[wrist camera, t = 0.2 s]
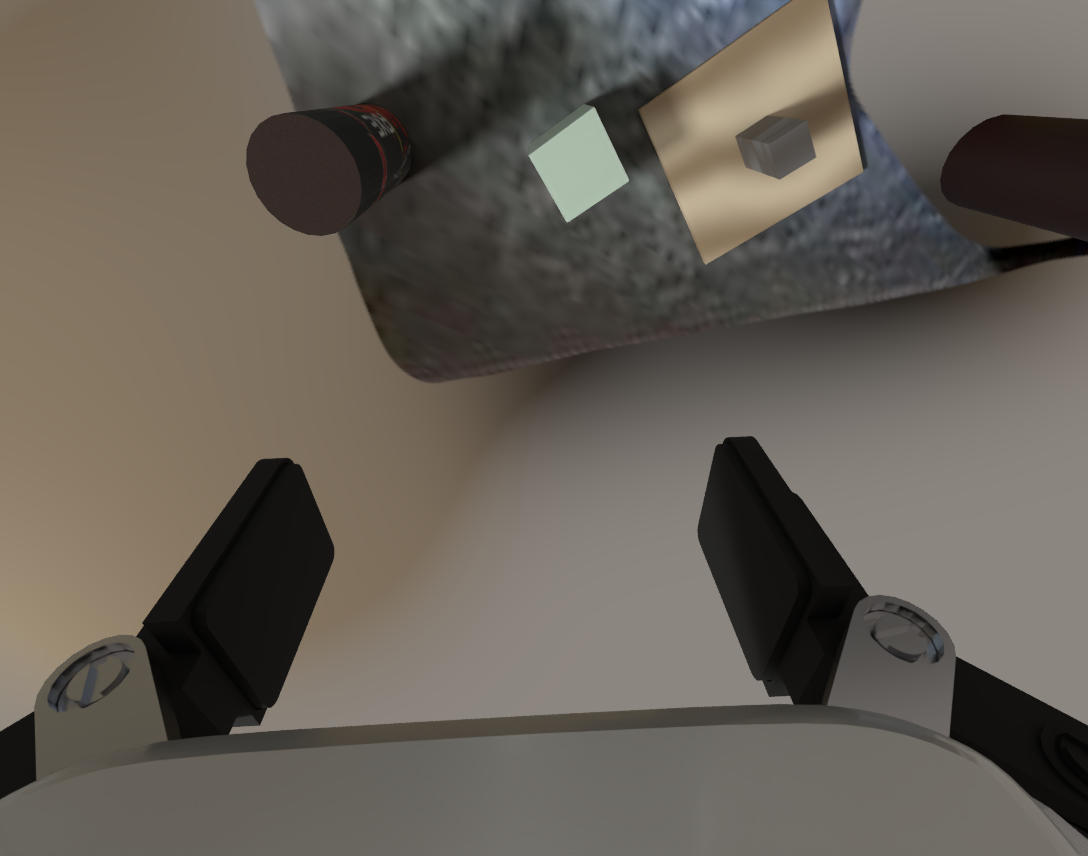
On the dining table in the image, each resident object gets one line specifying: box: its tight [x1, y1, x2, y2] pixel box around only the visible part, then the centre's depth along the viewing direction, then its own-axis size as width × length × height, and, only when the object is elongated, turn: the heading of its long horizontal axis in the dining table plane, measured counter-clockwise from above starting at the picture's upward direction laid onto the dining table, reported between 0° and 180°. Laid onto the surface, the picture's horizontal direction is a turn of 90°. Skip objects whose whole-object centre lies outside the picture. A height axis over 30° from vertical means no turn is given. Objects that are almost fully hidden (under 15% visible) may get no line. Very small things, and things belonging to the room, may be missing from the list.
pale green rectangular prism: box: [527, 104, 629, 222], centre depth 36 cm, size 5×5×7 cm
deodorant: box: [246, 104, 412, 236], centre depth 32 cm, size 6×6×15 cm
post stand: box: [638, 0, 863, 264], centre depth 36 cm, size 14×14×7 cm
